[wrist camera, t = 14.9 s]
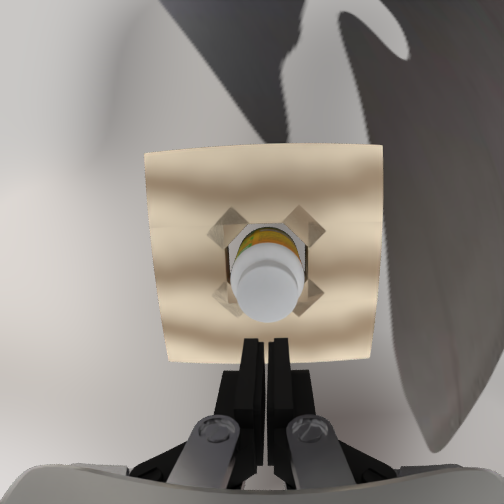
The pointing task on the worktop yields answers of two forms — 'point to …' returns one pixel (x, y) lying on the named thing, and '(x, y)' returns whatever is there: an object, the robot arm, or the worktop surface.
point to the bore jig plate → (262, 212)
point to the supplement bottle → (267, 275)
